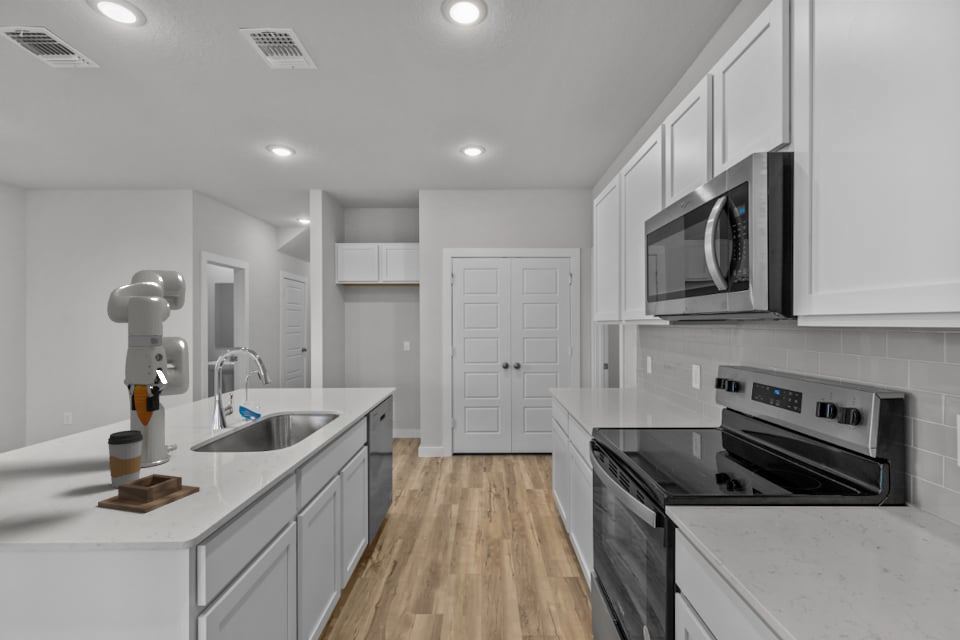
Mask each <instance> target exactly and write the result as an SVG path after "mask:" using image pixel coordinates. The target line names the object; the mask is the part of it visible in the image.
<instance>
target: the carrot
mask: <svg viewBox="0 0 960 640" xmlns="http://www.w3.org/2000/svg"><path fill="white" fill-rule="evenodd" d="M154 388H155V387H152V389H154ZM146 397H149V396H148V391H147V386H146V385H137V386H135V388H134V400H135V408H136V412H137V415H138V418H139V420H140V421H141V423H142V424H143V425H144V426H146V425H147V424H148V423H149V421H150V419H151V417H152V415H153V411H151V412H147V411H146Z"/></svg>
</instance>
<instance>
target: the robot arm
mask: <svg viewBox="0 0 960 640" xmlns="http://www.w3.org/2000/svg"><path fill="white" fill-rule="evenodd" d="M186 286H187V285H186V280H185V278H184V276H183V275H182V274H181V272H178V271H176V270H159V269H142V270H139V271H137V272H135V273H134V274H133V276H132V278H131V282H130V284H127V285H123V286H119V287H117V288H114V289H113V290H112V291H111V293H110V295H109V298H108V301H107V307H106V309H107V310H106V312H107V317H108V318H109V319H110V321H111V322H114V323H118V324H127V350H126V351H127V352H126V356H125V366H124V367H125V370H124V376H125V378H124V381H123V384H124V385H125V386H126V387H127V392H128V398H129V409H130V410H129V413H130V415H129V418H130V420H129V421H130V423H129V425H130V426H129V429H130V430H139V431H141V434H142V435H143V440H142V450H141V452H142V454H141V467H140V468H146V467H148V468H149V467H153V466H158V465H162V464H165V463H166V462H169V461H170V460H171V455H170V454H169V453H170V452H172V451H176V450H177V449H178V445H177V444H172V445H166V444H165V441H166V439H165V438H166V423H165V422H166V421H165V420H166V417H165V415H166V411H165V410H166V409H165V407H164V405H163V404H162V403H161V402H160V397H165V396H166V397H167V396H176V395H177V396H178V395H183V394H186V393H187V392H188V390H189V388H190V364H189V363H190V359H189V358H190V357H189V356H190V355H189V346H188V343H187V340H186V339H185V338H183V337H180V336H164V325H163V323H164V322H166V321H167V320H168V318H169V317H170V316H171V311H179V310H181V309H182V308H183V307H184V305H185V301H186V290H187V289H186ZM168 365H172V367H168ZM137 385H146V386H147V391H148V396H149V397H146V411H147V412H151V411H153V415H152V417H151V419H150V421H149V423H148V424H147V425H146V426H144V425H143V424H142V423H141V421H140V420H139V418H138V415H137V412H136V408H135V400H134V388H135V386H137ZM152 387H155V388H154V389H152ZM130 430H129V431H130Z"/></svg>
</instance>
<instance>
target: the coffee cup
mask: <svg viewBox="0 0 960 640" xmlns="http://www.w3.org/2000/svg"><path fill="white" fill-rule="evenodd" d="M142 440H143V435H142V434H141V431H139V430H123V431H118V432H112V433H110V434H109V438H108V439H107V445H108V454H109V458H108V459H109V471H110V477H111V479H110V480H111V486H112V487H113V488H114V489H118V486H119V485H122V484H125V483H128V482H131V481H134V480H137V479H140V475H141V474H140V473H141V468H142V467H141V454H142V452H141V450H142Z"/></svg>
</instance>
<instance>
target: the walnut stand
mask: <svg viewBox="0 0 960 640" xmlns="http://www.w3.org/2000/svg"><path fill="white" fill-rule="evenodd" d="M117 490H118V491H117V495H114V496H112V497H109V498H106V499H103V500H101V501H98V502H97V507H102V508H109V509H114V510H115V509H116V510H120V511H121V510H122V511H129V512H135V513H143V514H147V513H149V512H151V511H154V510H156V509H159V508H161V507H163V506H166V505H168V504H171V503H173V502H176V501H178V500H181V499H183V498H185V497H188V496H191V495H193V494H195V493H199V492H200V490H201V489H200V486H193V485H184V484H183V477H182V476H174V475H167V474H166V475H165V474H158V473H153V474H151V475H147V476H144V477H141V478H140V477H139V479H137V480H134V481H131V482H128V483H125V484H122V485H119V486H118V488H117Z"/></svg>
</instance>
